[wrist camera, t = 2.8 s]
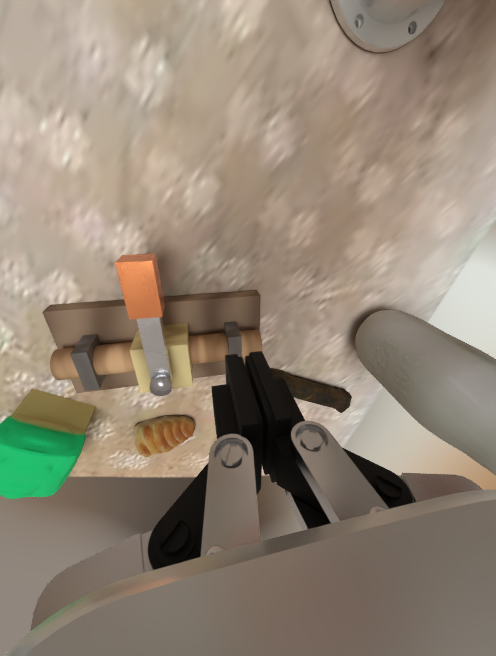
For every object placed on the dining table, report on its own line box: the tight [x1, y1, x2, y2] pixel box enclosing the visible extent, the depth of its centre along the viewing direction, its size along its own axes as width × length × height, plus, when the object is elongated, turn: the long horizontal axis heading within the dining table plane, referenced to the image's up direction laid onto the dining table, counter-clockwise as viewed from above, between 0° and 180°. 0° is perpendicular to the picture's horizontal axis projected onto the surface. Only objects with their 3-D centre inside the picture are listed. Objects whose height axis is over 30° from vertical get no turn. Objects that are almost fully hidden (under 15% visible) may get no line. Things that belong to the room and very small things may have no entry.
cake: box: [0, 389, 96, 499], centre depth 34 cm, size 10×11×10 cm
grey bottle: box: [355, 310, 496, 475], centre depth 30 cm, size 10×10×28 cm
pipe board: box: [43, 290, 262, 393], centre depth 32 cm, size 25×12×7 cm, turn 90°
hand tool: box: [270, 369, 352, 413], centre depth 42 cm, size 19×4×5 cm, turn 60°
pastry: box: [134, 416, 195, 457], centre depth 42 cm, size 9×7×4 cm
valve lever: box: [115, 254, 173, 396], centre depth 25 cm, size 14×3×3 cm, turn 0°
